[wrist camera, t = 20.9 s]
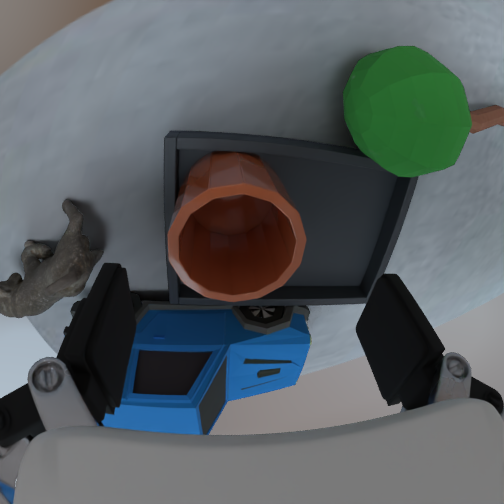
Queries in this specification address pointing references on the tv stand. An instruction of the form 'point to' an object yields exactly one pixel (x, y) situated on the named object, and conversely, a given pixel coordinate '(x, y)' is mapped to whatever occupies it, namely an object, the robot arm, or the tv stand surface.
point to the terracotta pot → (234, 228)
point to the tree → (410, 111)
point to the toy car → (205, 362)
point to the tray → (308, 214)
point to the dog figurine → (50, 271)
